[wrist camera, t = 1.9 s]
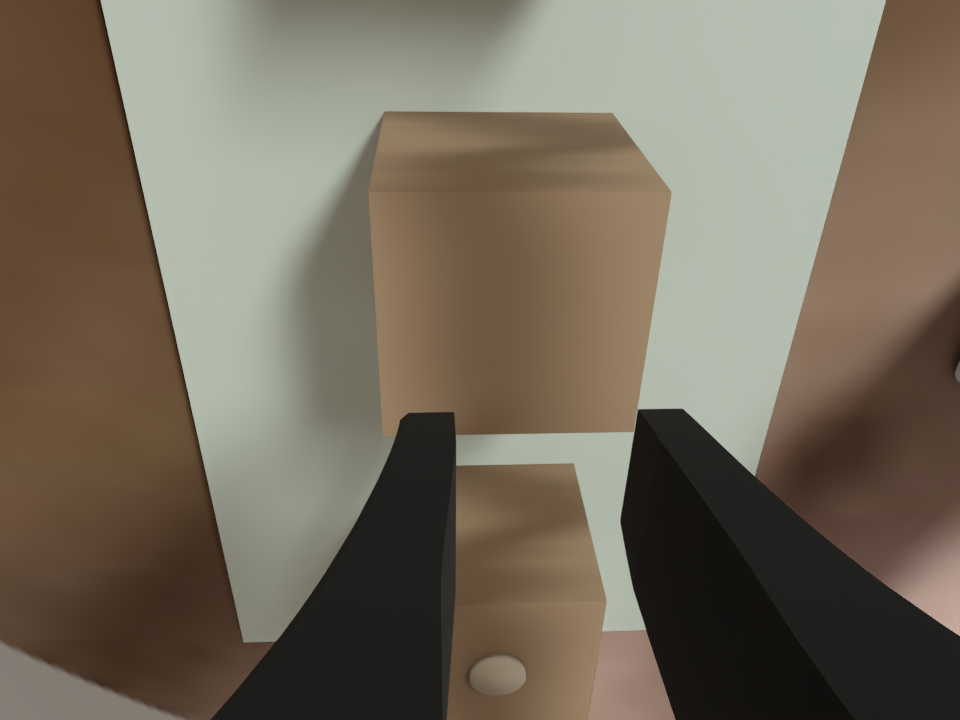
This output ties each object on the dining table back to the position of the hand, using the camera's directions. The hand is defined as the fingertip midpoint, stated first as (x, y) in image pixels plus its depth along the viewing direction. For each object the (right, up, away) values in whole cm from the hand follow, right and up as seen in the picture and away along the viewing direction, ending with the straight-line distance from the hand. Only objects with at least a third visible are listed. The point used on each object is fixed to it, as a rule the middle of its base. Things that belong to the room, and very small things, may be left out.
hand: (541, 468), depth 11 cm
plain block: (-1, +5, +8) cm, 9 cm away
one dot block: (-1, -4, +13) cm, 13 cm away
